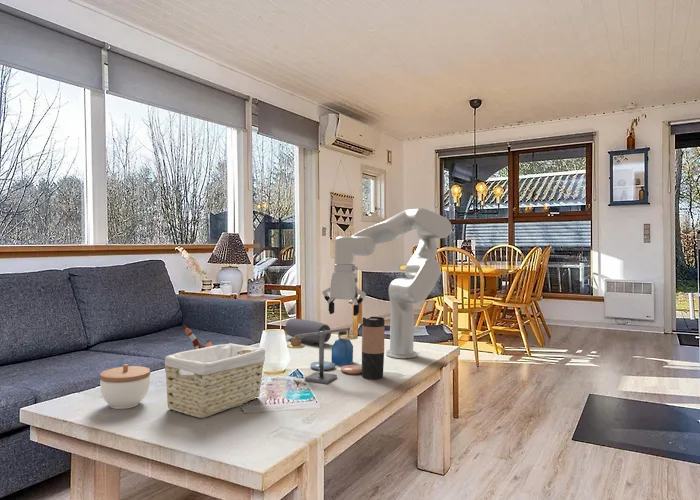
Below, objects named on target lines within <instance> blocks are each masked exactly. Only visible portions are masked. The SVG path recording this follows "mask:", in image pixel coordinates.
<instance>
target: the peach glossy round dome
mask: <svg viewBox="0 0 700 500" xmlns="http://www.w3.org/2000/svg"><path fill="white" fill-rule="evenodd" d="M340 371H341V372H343V373H344V374H349V375H358V374H362V365H359V364H348V365H341V366H340Z"/></svg>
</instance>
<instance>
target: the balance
mask: <svg viewBox="0 0 700 500" xmlns="http://www.w3.org/2000/svg"><path fill="white" fill-rule="evenodd" d="M340 331H347V335H340V336H339V337H338V339H339V338H340V339H347V340H350V341H351V340H352V341H353V340H357V339H358V338H359V336H358V335H356V334H350V331H351V327H350V326H348V327H343V328H335V329H331V330H327V331H320V332H313V333H306V334H299V335H295V337H290V343H288V344H286V347H287V348H288V349H295V350H296V349H303V348H305V346H306V344H304V343H302V342H301V337H305V336H312V335H319V344H318V362H319V370H318V372H317V371H315V372H313V373H311V374H309V375H308V376H305V377H304V381H305V380H307V381H306V382H310V383H311V382H312V383H319V384H325V385H326V384H329V383H331V382H332V381H334V380H336V379H337V378H338V375H337V374H334V373H327V372H326V373H325V372H324V371H325V370H324V361H325V360H324V359H325V354H324V353H325V343H324V336H325V334H326V333H331V334H332V333H339V332H340Z"/></svg>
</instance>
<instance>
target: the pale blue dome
mask: <svg viewBox="0 0 700 500" xmlns="http://www.w3.org/2000/svg"><path fill="white" fill-rule="evenodd" d="M309 366H310V368H312V369H313V370H316V371H319V361H314V362H311V363H310V365H309ZM335 367H336V364H334V363H332V362H331V361H325V360H324V371H329V370H332V369H333V368H335Z"/></svg>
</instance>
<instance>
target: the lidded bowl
mask: <svg viewBox="0 0 700 500" xmlns="http://www.w3.org/2000/svg"><path fill="white" fill-rule="evenodd" d="M99 379H100V381H99V382H100V383H99V385H100V393H101V396H102V398H103V400H104V402H106V404H108V405H109V406H110V408H112V409H115V410H126V409H131V408H134V407H136V406H137V407H138V406H139V405H140V403H141V402H142V401H143V399H144V398H145V397H146V396H147V395H148V391H149V388H150V383H151V382H150V380H151V369H150V368H149V367H146V366H140V365H129V364H128V363H126V364H125V363H124V364H123V366H119V367H113V368H109V369H106V370H103V371H102V372H100V373H99Z"/></svg>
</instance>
